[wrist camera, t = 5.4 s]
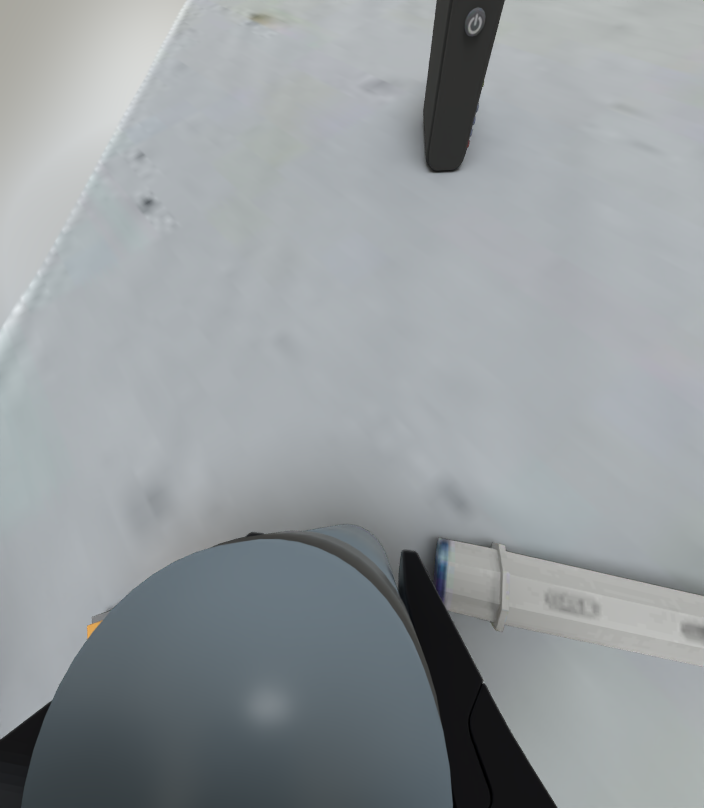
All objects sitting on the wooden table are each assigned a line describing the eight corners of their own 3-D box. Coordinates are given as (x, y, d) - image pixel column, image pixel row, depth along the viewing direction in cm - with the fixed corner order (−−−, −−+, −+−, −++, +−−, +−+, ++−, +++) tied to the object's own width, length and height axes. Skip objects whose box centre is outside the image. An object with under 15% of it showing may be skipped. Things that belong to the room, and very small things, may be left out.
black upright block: (465, 174, 32) (537, -90, 18) (425, 176, 33) (464, -83, 19) (458, 115, 35) (515, -151, 21) (421, 117, 36) (453, -145, 22)
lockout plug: (403, 601, 15) (552, 1021, 2) (317, 634, 14) (2, 1277, 2) (371, 511, 16) (365, 486, 4) (292, 540, 16) (16, 611, 4)
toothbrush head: (441, 524, 19) (1115, 651, 12) (436, 524, 25) (885, 609, 18) (432, 629, 17) (1203, 836, 11) (429, 602, 23) (919, 723, 17)
